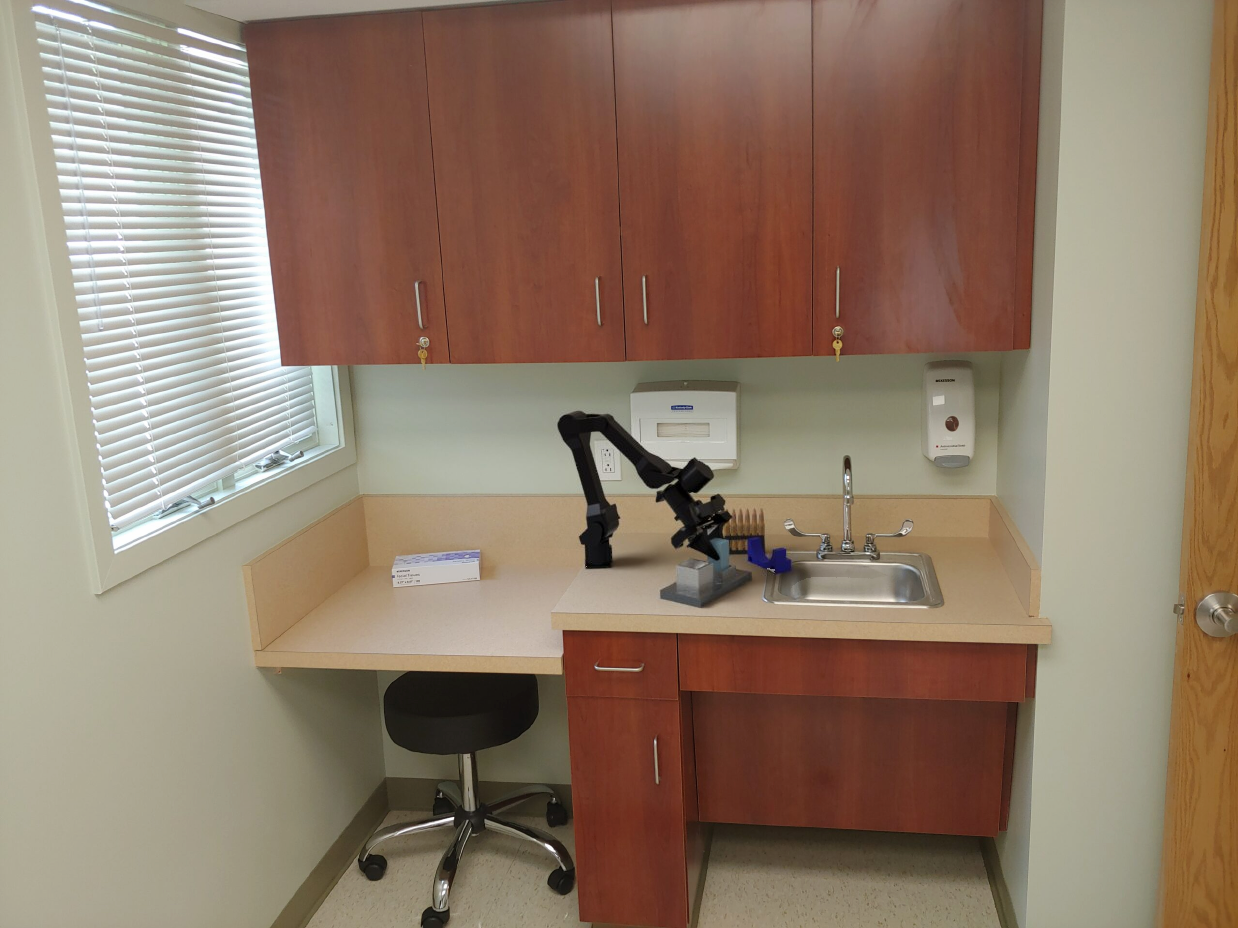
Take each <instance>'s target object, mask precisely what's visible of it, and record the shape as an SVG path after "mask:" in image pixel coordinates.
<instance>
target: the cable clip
mask: <svg viewBox="0 0 1238 928" xmlns="http://www.w3.org/2000/svg"><path fill="white" fill-rule="evenodd" d="M746 557H747V558H746V559H747V562H749V563H751V564H753V565H756V566H758V567H759V566H760V567H759V568H762V569H764V570H766V569H767V568H770V569H775V571H774V572H775V573H776V574H775V573H774V574H775V575H778V574H784V573H787V572H792V559H790V558H788V557H787V548H786V547H778V548H774V549H772V553H771V556H770V558H769V557H768V556H767V555H766V552H765V553H764V551H763V549H762V545H761V538H758V537H755V538H750V539H747V554H746Z"/></svg>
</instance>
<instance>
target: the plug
mask: <svg viewBox="0 0 1238 928" xmlns="http://www.w3.org/2000/svg"><path fill="white" fill-rule="evenodd" d="M710 542H711V544H712V545H713V547H714V548H715V550H716V551H717V553H718V555H719V557H720V559H719V560H718V561H716V560H714V559H712V558H710V557H708V556H707V562H712V563H713V570H718V571H723V570H725V569H727V568H729V564H730V555H729V540H726V539H720V538H714V539H712V540H710Z"/></svg>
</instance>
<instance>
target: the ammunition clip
mask: <svg viewBox="0 0 1238 928" xmlns="http://www.w3.org/2000/svg"><path fill="white" fill-rule="evenodd" d="M725 511H728V512H729V510H728V508H726V509H725ZM736 514H737V513H736V510H735V508H733V509H732V511H731V516H732V518H731V519H730V520H731V521H730V520H729V521H728V522H727V523H726V524H725V525H724V526H723V536H724V539H726V540H729V556H731V555H732V556H733V555H734V556H735V555H738V556H739V555H747V539H750V538H755V537H758V538H761V545H762V549H763V551H764V553H765V554H766V540H765V539H766V537H765V535H766V534H765V533H766V531H765V528H766V525H765V519H764V518H765V516H764V510H763V508H762V507H761V508H760V510H759V514H758V515H757V510H756V508H753V510H752V513H751V516H750V510H749V508H746V510H745V514H744V513H743V510H742V508H740V509H739V510H738V516H737V515H736ZM757 516H758V518H757ZM737 517H738V519H737ZM750 517H751V518H750Z"/></svg>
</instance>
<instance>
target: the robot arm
mask: <svg viewBox="0 0 1238 928" xmlns="http://www.w3.org/2000/svg"><path fill="white" fill-rule="evenodd" d="M556 427H557V429H558V433H559V434H560V437H561V439H562V441H563V442H564V443H565V445H566V446H567V447H568V448H569V449H570V451H571V453H572V457H573V461H574V463H575V464H574V465H575V467H576V471H577V475H578V477H579V481H580V485H581V488H582V491H583V494H584V498H585V502H586V513H585V520H586V528H585V530H584V531H583V532H582V533H581V534H580V535H579V536H578V539H579V542H580V544H581V546H584V568H585V567H586V566H587V567H586V568H585V569H599V568H600V569H601V568H611V567H612V564H613V545H612V544H611V543H610V538H613V536H614V533H615V532H616V531H617V530H618V528H619V527H620V519H621V516H620V515H619V513H618V507H617V504H616V503H612V504H610V502H609V501H608V500H607V498H606V495H605V492H604V489H603V484H602V482H601V478H600V474H599V472H598V468H597V465H596V461H595V459H594V455H593V454H594V453H593V451H592V447H591V437H592V436H591V435H592V433H598V432H599V433H600V434H601V435H603V437H604V438H606V440H607V441H609V442H610V443H611V444H612V445H613V446H614V447H615V448H616V449H617V450H618V451H619V452H620V453H621V454H622V455H623V456H624V457H625V458H626V459H627V460H628V461H629V462H630V463H631V464H632V465H633V467H634V468H635V470H636V474H637V475H638V477H639V479H640V480H641V481H642V482H643V483H644V485H645V486H646V487H648V488H649V489H651V490H653V489H654V490H657V491H656V492H655V493H656V496H655V503H661V502H664V501H665V502H666V503H667V505H668V506H669V507H670V509H671V510H672V512H673V513H674V515H675V516H674V518H673V519H674V521H675V522H678V521H680V522H681V523H682V525H683V526H681V527H680V528H679V529H678V530H676V532H675V533H674V534H673V535H672V536H671V538H670V544H671V545H672V547H673V548H674V549H675V550H678V549H680V548H682V547H684V543H685V542H686V540H687V542H688V544H687V545H686V548H687V549H688V548H689V549H693V550H694V551H696V552H699V553H701V554H703V555H705V556H706V557H707V558H708V557H710V558H712V559H714V560H716V561H718V560H719V559H720V557H719V555H718V553H717V551H716V550H715V548H714V547H713V545H712V544H711V542H710V540H712V539H714V538H720V539H724V525H725V524H726V523H727V522H728V521H729V522H730V520H731V518H732V513H730V512H729V510H728V511H726V509H725V505H726V500H725V498H724V497H723V496H722V495H721V494H720V493H717V494H714V495H712V496H710V497H709V498H710V500H709V501H707V502H704V503H703V501H702V500H700V499H697V500H696V499H695V498H694V497H693V495H692V494H698V493H699V492H700V491H702V489H704V487H706V486H707V485H708V484H709V483H710V482H711V481H712V480H713V479H714V478H715V474H714V471H713V469H711V467H710V465H708V464H706V463H704V462H703V461H701V460H698V459H697V457H695V456H694V457H692V458H691V459H690V460H688V462H687V463H686V464H685V466H684V467H683V468H680V467H677V466H672V465H671V463H669V462H668V461H667V460H665V459H663V458H662V457H660V456H659V455H657V454H654V453H651V452H649V451H648V450H647V449H646V448H645V447H643V446H642V445H641V443H639V442H638V440H636V438H634V437H633V435H632V434H630V432H628V431H627V430H626V429H625V428H624V427H623V426H622V425H621V424H620V423H619V422H618V421H617V420H616V419H615V417H614V416H613V415H612V414H609V413H603V414H601V413H587V412H586V413H585V412H584V411H582V410H574V411H572V412H568V413H565V414H564V415H561V417H559V418H558V421H557V425H556ZM676 480H677V481H676ZM674 481H676V482H674ZM673 482H674V483H673ZM666 485H667V486H666ZM663 486H666V487H664V489H662V490H658V489H660V488H662V487H663Z"/></svg>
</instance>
